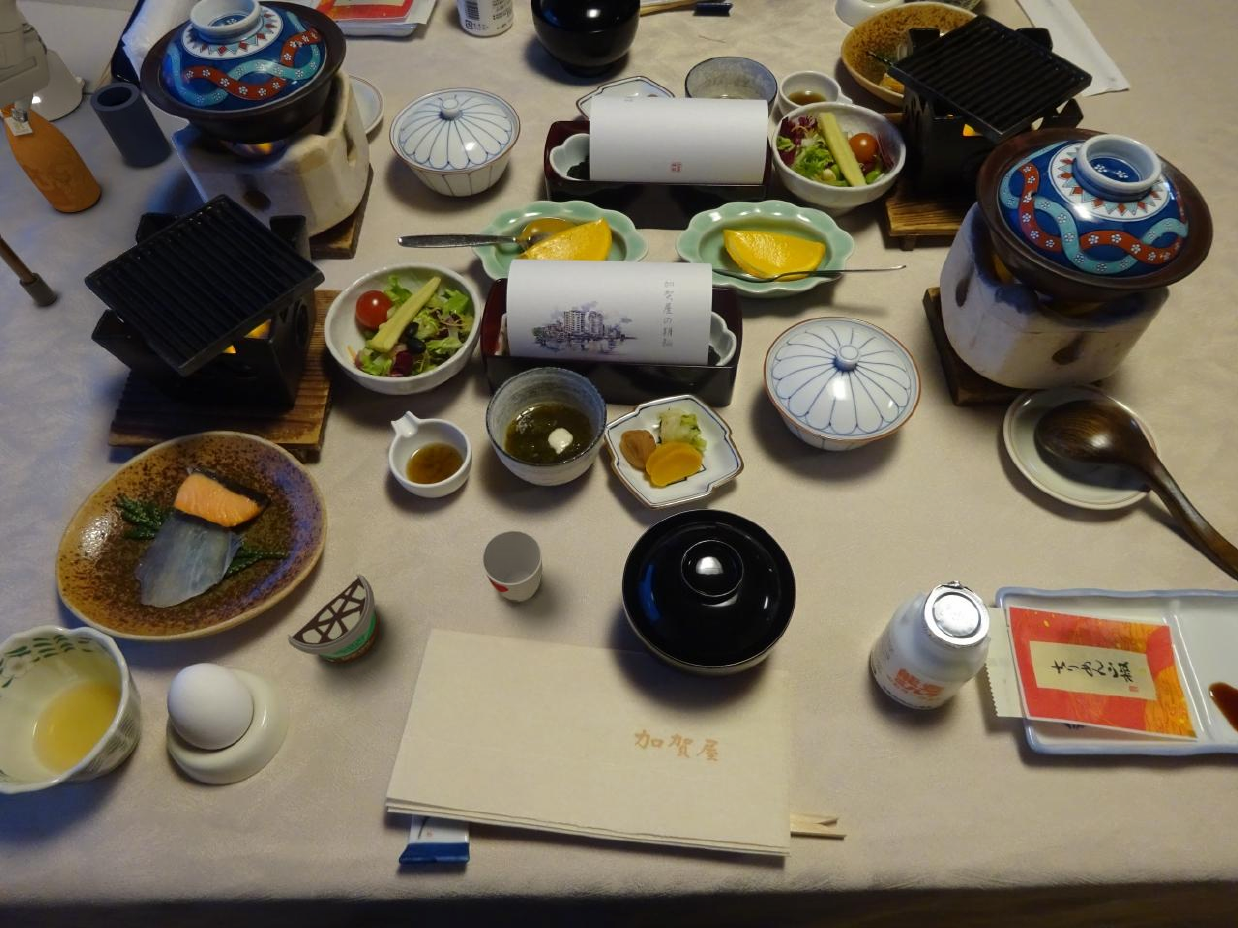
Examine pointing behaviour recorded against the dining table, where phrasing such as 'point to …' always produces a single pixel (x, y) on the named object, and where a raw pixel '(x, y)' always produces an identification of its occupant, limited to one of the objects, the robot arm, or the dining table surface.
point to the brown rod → (27, 276)
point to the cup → (513, 564)
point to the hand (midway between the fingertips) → (0, 131)
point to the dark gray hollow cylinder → (130, 124)
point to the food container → (342, 626)
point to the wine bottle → (51, 162)
